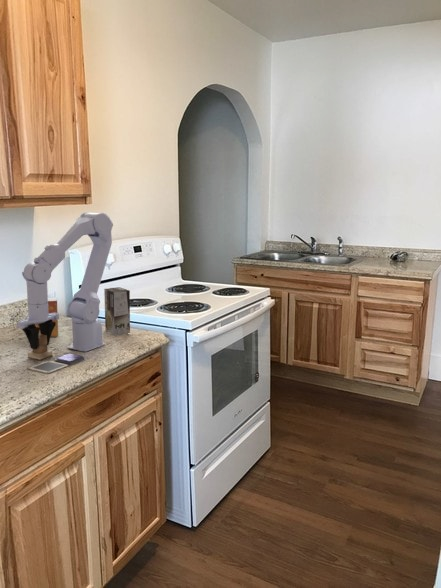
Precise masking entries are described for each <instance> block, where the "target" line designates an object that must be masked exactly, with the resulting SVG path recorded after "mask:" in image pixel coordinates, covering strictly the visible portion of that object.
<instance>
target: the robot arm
mask: <svg viewBox="0 0 441 588" xmlns="http://www.w3.org/2000/svg"><path fill="white" fill-rule="evenodd" d="M74 221H75V222H74V223H73V224H72V226H70V228H69V229H68V231H67V232H66V233H65V234H64V235H63V236H62V237H61V238H60V240H58V242H57V243H55V244H53V243H52V244H49V245H46V246H45V247H44V251H42V252H41V253H40V254H39V255H38V256H37V257H35V258H34V259H33V262H29V263H27V264H26V265H25V267H24V269H23V271H22V272H21V274H22V277H23V279H24V280H25V281H26V294H27V295H26V297H27V312H28V313H27V316H26V318H23V319H21V320H19V321H16V328H17V329H19V330H22V331H23V333H24V334H25V337H26V338H27V340H28V344H29V347H30V349H32V350H33V349H37V348H38V335H39V330H40V332H41V334H43V335H47V347H49V345H50V341H51V334H52V331H53V329H54V327H55V325H56V322H53V321H52V320H58V321H59V319H60V316H59V315H60V314H59V312H58V313H49V314H48V298H49V294H48V281H49V280H50V279H51V277H52V272H53V271H54V270H55V269H56V268H57V266H59V264H60V263H62V261H64V260H65V258H66V251H68V250H69V249H70V248H71V247H72V246H73V245H75V243H77V242H78V241H79V240H80V239H81V238H82V237H83V236H88V237H89V238H90V240H91V242H92V244H93V245H92V249H91V252H90V254H89V258H88V261H87V264H86V265H87V266H86V269H85V272H84V276H83V279H82V282H81V285H80V288H79V290H78V291H76V292H75V293H74V294H73V297H72V298H71V300H70V302H69V303H68V305H67V313H68V315H69V316H70V317H71V321H72V323H71V325H72V326H71V327H72V328H71V329H72V330H71V331H72V344H71V345H68V346H67V347H66V348H67V349H70V350H74V351H79V352H88V351H92V350H94V349H97V348H100V347H103V346H105V343H104V342H103V326H102V323H101V321H100V319H98V318H99V315H100V303H101V299H100V298H99V295H98V292H99V289H100V288H99V287H100V285H101V282H102V281H101V280H102V278H103V275H104V271H105V268H106V264H107V261H108V257H109V254H110V251H111V247H112V243H113V240H112V239H113V237H112V229H113V226H114V223H113V221H112V220H111V218H110V216H109V215H108V214H107V213H104V212H97V213H96V212H88V211H87V212H83V213H81V215H80V216H79V217H78V218H76V219H75V220H74ZM36 324H38V325H39V327H36V326H35V325H36Z"/></svg>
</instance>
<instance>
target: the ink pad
mask: <svg viewBox="0 0 441 588" xmlns="http://www.w3.org/2000/svg"><path fill="white" fill-rule="evenodd" d="M85 360H86V359H85V356H83V355H79V354H72V353H67V354H64V355H61V356H59V357H56V359H54V362H58V363H63V364H67V365H69V366H73V365H75V364H78V363H80V362H83V361H85Z"/></svg>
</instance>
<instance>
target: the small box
mask: <svg viewBox="0 0 441 588" xmlns="http://www.w3.org/2000/svg"><path fill="white" fill-rule="evenodd" d="M58 311H59V310H58V297H48V314H49V313H59V312H58ZM52 321H53V322H56V325H55V327H54V329H53V331H52V334H51V337H59V319H58V320H52ZM35 326H36V327H39V325H38V324H36V325H35ZM39 334H41V332H40V330H39ZM51 337H50V338H51Z"/></svg>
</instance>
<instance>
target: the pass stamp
mask: <svg viewBox="0 0 441 588" xmlns="http://www.w3.org/2000/svg"><path fill="white" fill-rule="evenodd" d="M53 355H54V354H53V350H52V349H51V350H50V349H48V346H47V335H43V334H39V335H38V348H37V349H32V350H31V351H28V352H27V359H28V360H33V361H36V362H37V361H38V362H42V361H44V360H48V359H50V358H53Z"/></svg>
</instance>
